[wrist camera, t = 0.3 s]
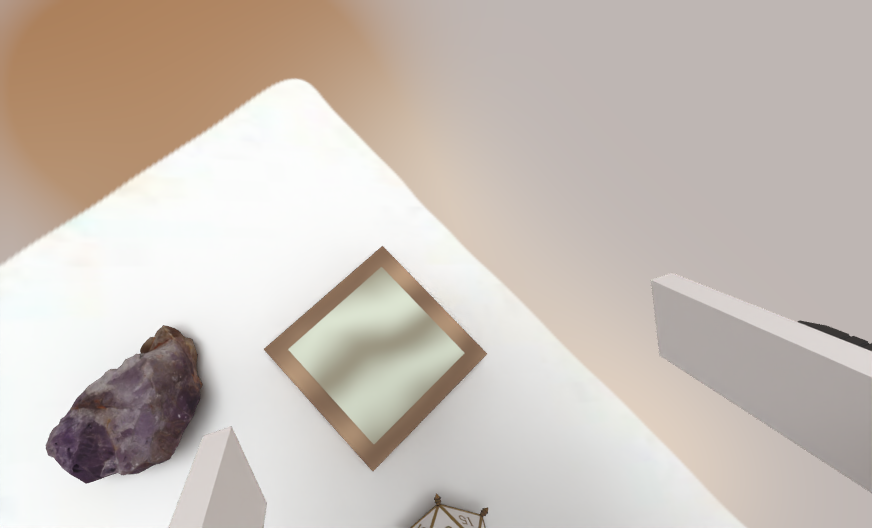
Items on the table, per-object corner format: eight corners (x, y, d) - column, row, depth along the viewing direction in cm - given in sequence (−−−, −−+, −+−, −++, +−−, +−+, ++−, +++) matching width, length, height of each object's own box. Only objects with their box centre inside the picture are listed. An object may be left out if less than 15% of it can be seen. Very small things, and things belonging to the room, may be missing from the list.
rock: (86, 419, 44) (167, 491, 43) (1, 437, 35) (99, 527, 34) (173, 316, 45) (254, 383, 44) (111, 310, 37) (209, 392, 36)
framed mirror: (478, 357, 48) (487, 353, 44) (373, 465, 44) (372, 472, 40) (382, 257, 49) (382, 244, 45) (273, 353, 46) (262, 348, 42)
